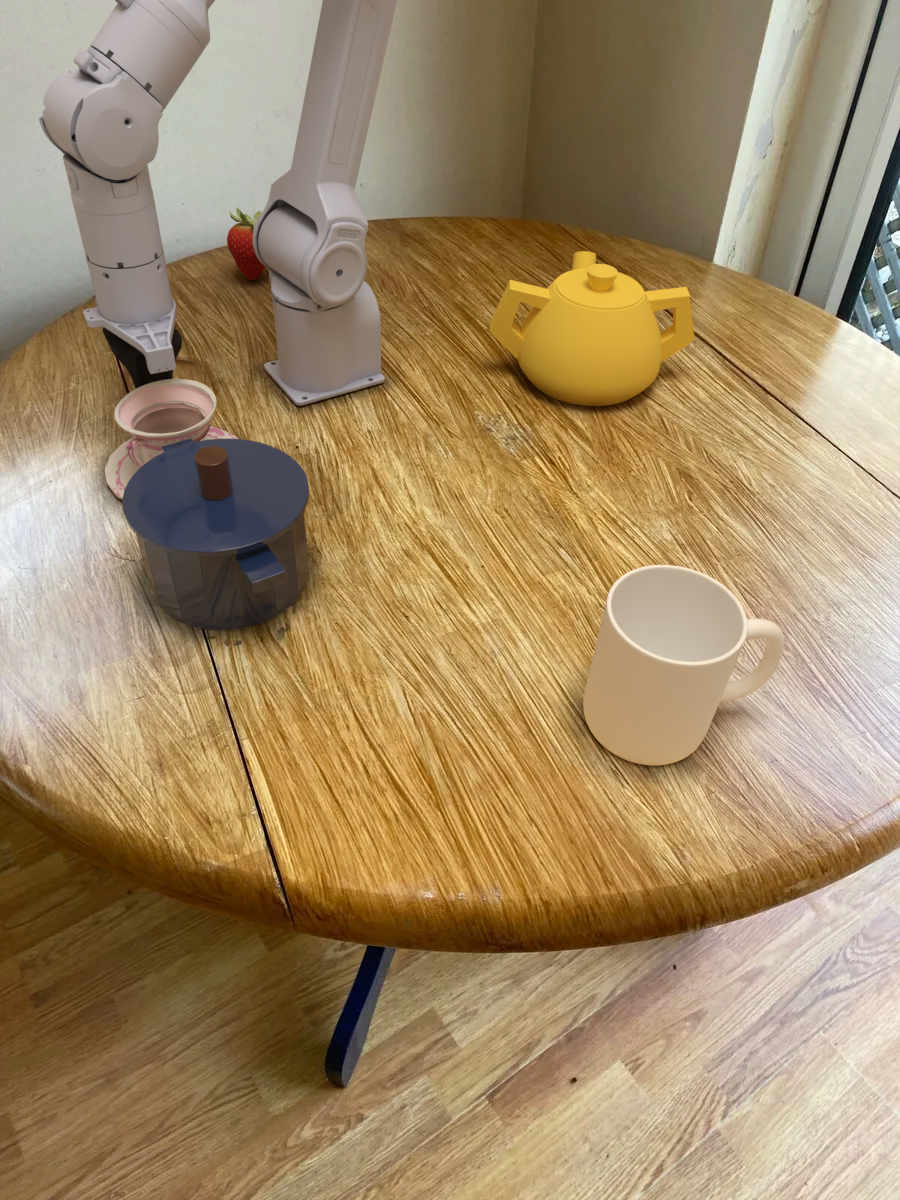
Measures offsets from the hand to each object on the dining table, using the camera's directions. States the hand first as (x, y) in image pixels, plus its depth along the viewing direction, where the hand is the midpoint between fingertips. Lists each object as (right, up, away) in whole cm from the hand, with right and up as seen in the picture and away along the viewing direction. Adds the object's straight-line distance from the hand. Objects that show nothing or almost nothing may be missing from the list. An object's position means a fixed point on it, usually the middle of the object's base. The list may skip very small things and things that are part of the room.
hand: (157, 405), depth 79 cm
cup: (+40, -25, -18) cm, 50 cm away
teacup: (+2, -6, -1) cm, 7 cm away
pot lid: (+9, -10, -16) cm, 21 cm away
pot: (+9, -15, -10) cm, 20 cm away
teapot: (+39, +7, +14) cm, 42 cm away
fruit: (+3, +19, +24) cm, 31 cm away
